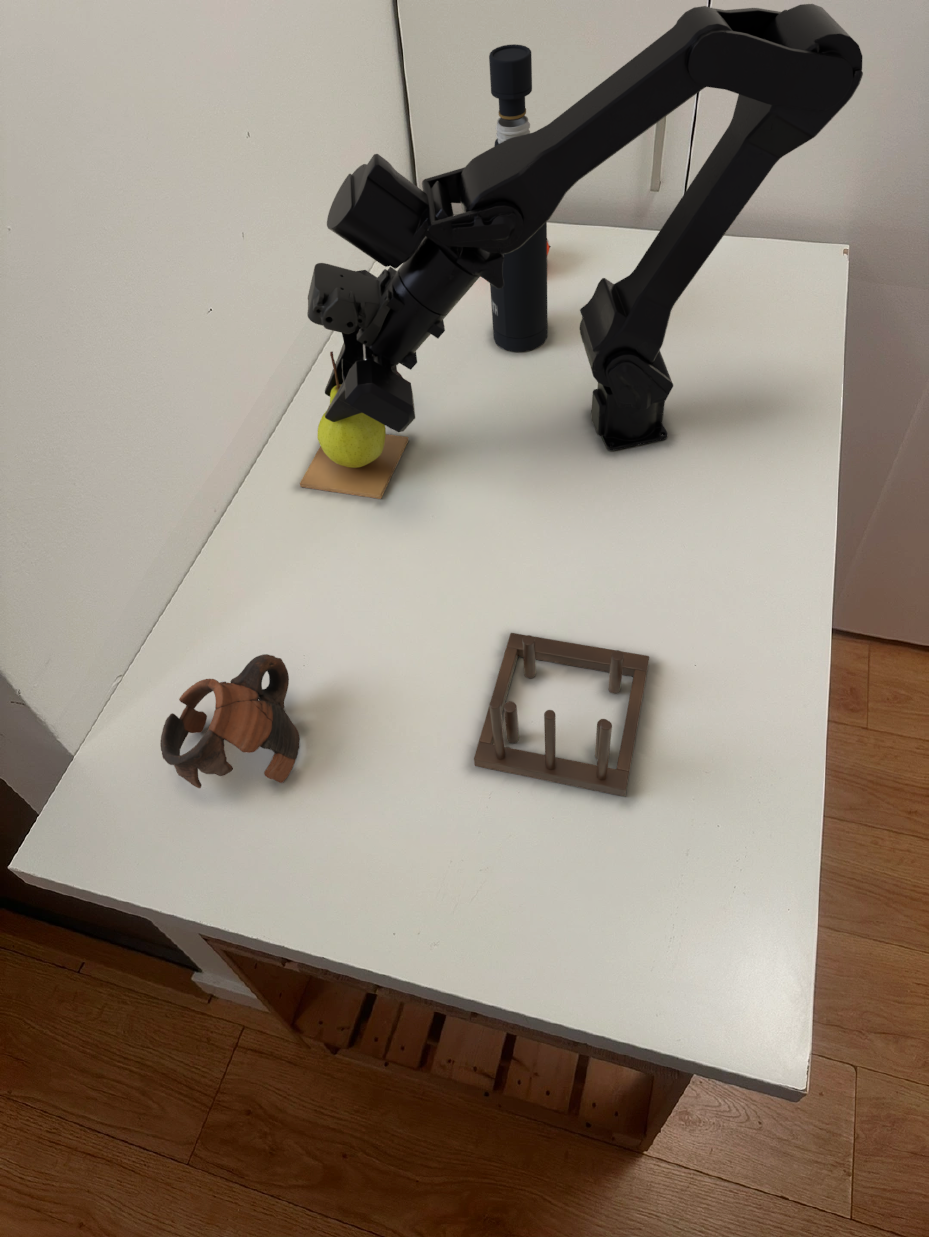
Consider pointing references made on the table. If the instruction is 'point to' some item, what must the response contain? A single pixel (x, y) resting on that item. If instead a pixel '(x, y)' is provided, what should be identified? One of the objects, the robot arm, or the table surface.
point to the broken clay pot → (235, 723)
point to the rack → (549, 764)
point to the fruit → (351, 436)
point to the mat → (356, 472)
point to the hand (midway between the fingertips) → (328, 406)
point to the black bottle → (526, 268)
